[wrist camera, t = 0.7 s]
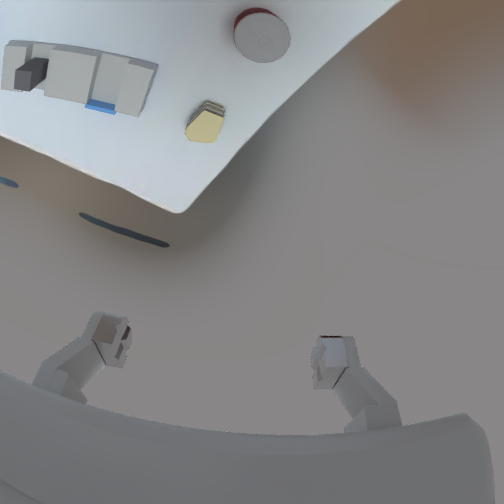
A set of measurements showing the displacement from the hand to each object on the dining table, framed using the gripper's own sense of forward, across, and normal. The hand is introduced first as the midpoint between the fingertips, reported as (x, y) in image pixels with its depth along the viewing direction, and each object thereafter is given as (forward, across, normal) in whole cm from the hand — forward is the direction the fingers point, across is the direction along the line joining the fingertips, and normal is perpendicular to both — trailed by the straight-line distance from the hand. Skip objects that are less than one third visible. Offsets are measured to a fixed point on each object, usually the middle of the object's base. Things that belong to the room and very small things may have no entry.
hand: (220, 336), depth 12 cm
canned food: (+46, +1, -17) cm, 49 cm away
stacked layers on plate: (+50, +9, +1) cm, 51 cm away
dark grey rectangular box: (+41, +42, -13) cm, 60 cm away
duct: (+44, +35, -11) cm, 57 cm away
